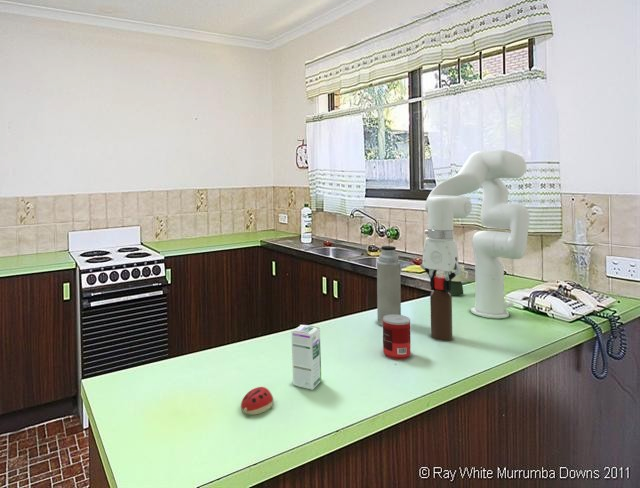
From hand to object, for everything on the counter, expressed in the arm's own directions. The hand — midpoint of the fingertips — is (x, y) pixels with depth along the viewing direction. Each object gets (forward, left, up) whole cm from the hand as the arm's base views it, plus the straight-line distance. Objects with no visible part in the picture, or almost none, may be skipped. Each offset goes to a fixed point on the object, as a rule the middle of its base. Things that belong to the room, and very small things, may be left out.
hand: (440, 290), depth 144 cm
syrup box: (+55, +15, -16) cm, 59 cm away
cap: (0, 0, +1) cm, 1 cm away
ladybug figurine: (+71, +22, -16) cm, 76 cm away
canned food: (+22, +7, -16) cm, 28 cm away
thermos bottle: (+8, -17, -16) cm, 25 cm away
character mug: (-41, -39, -16) cm, 59 cm away
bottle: (0, 0, -16) cm, 16 cm away
